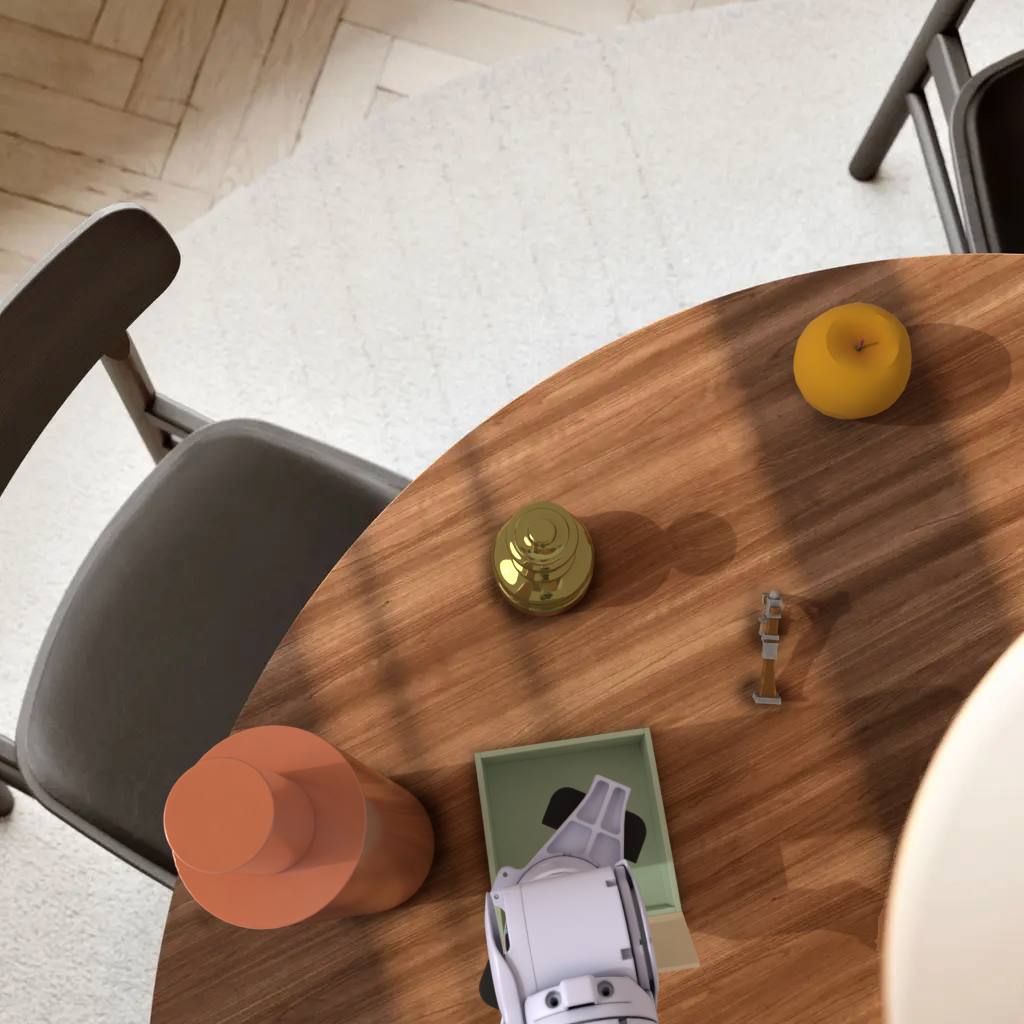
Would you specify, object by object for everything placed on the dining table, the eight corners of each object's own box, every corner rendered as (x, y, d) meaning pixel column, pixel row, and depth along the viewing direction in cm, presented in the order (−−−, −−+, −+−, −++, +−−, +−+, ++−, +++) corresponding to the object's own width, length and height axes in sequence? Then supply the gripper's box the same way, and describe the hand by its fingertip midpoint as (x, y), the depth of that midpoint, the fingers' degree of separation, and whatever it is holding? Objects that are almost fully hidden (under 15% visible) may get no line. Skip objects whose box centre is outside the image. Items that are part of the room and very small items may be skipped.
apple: (825, 318, 92) (852, 262, 84) (915, 381, 90) (951, 329, 82) (760, 394, 91) (780, 344, 82) (850, 460, 89) (880, 415, 80)
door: (682, 911, 73) (682, 915, 73) (498, 938, 73) (499, 943, 73) (699, 962, 67) (700, 967, 67) (500, 992, 67) (501, 997, 67)
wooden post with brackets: (779, 581, 85) (790, 592, 80) (771, 688, 86) (782, 705, 81) (754, 580, 85) (763, 591, 81) (747, 687, 86) (756, 703, 81)
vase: (403, 934, 79) (272, 976, 43) (285, 882, 81) (63, 881, 45) (454, 808, 82) (370, 748, 46) (339, 760, 83) (169, 665, 47)
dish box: (673, 910, 79) (682, 912, 74) (502, 936, 79) (498, 940, 74) (643, 737, 83) (649, 727, 77) (480, 761, 83) (474, 753, 77)
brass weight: (608, 545, 87) (614, 504, 78) (568, 634, 85) (569, 602, 76) (519, 507, 88) (515, 462, 79) (478, 594, 87) (468, 558, 77)
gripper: (545, 750, 58) (544, 756, 72) (432, 1036, 55) (453, 988, 69) (676, 804, 58) (651, 801, 71) (570, 1098, 55) (564, 1037, 68)
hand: (561, 896), depth 70 cm, fingers open, 7 cm apart
